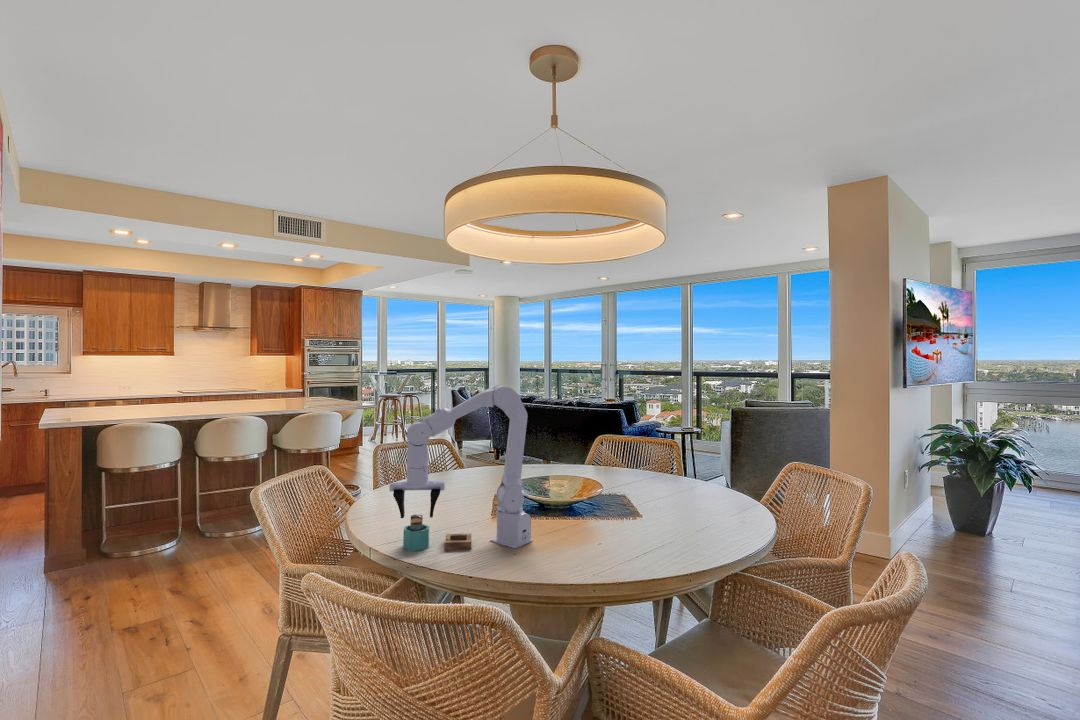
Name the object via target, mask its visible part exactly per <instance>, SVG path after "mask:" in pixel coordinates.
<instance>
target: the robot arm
mask: <svg viewBox="0 0 1080 720" xmlns="http://www.w3.org/2000/svg"><path fill="white" fill-rule="evenodd" d="M494 406H495V407H497V408H499V409H500V410H502V412H503V413H504V414H505V415H506V417H508V419H509V423H508V433H507V440H506V441H507V442H506V443H507V444H506V449H505V450H506V452H505V460H504V468H503V474H502V477H501V479H500V484H499V486H498V488H497V490H496V497H497V500H498V502H499V504H498V506H497V507H496V536H495V537H492V538H489V541H490V542H492V543H495V544H498V545H502V546H506V547H509V548H513V549H517V548H519V547H522V546H525V545H527V544H530V543H531V542H533V541H534V540H533V539H532V518H531V516H530V514H528V513H526V512H525V511H524V510H523V505H524V504H525V503H524V502H525V497H524V494H523V483H522V470H523V461H524V460H523V459H524V452H525V444H526V443H525V442H526V435H527V434H526V432H527V425H528V412H527V410H526V408H525V406H524V404H523V401H522V400H521V395H520V394H519V393H518V392H517V391H516V390H515V389H514V388H512V387H510V386H508V385H505V384H504V385H503V384H496V385H494V386H492V387H490V388H486V389H484V390H482V391H480V392H478V393H476V394H475V395H473V396H471V397H470V398H468V399H466V400H465V401H462V402H460V404H457V405H456V406H454V407H452V408H446V407H442V408H441V409H440V407H438V408H436V409H435V412H433V413H432V414H431V413H430V415H427V416H425V417H423V416H422V417H420V418H419V421H416V422H412V423H411V424H410V425H409V427H408V428H407V432H406V436H407V439H408V441H407V451H406V481H400V482H399V481H397V482H396V481H395V482H390V483H389V492H393V493H392V495H393V497H394V500H395V502H396V505H397V507H398V510H399V514H400V519H404V517H405V514H406V513H405V493H406V491H430V495H429V496H430V508H429V509H430V510H429V518H430V519H431V518H433V517H434V511H435V506H436V504H437V501H438V498H439V496H440V495H441V494H440V493H441V491H445V489H446V486H445V485H446V483H445V482H446V481H432V480H429V453H430V451H429V448H428V442H429V440H430V438H433V437H436V436H438V435H440V434H441V433H443V432H445V431H447V430H449V429H451V428H452V427H454V426H455V423H456V420H458V419H460V418H462V417H463V416H466V415H467V414H470V413H472V412H474V411H475V410H477V409H479V408H482V407H483V408H487V407H488V408H494Z"/></svg>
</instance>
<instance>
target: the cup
mask: <svg viewBox="0 0 1080 720" xmlns="http://www.w3.org/2000/svg"><path fill="white" fill-rule="evenodd" d="M410 528H411V524H409V525H406V526H404V528H403V536H402V537H403V538H402V539H403V540H402V541H403V542H402V543H403V544H402V546H403V548H402V549H403V550H407V551H414V552H416V551H423V550H425V549H428V548H429V547H430V546H429V545H430V525H428V524H424V523H423V530H421V531H410Z"/></svg>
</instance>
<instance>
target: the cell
mask: <svg viewBox="0 0 1080 720" xmlns="http://www.w3.org/2000/svg"><path fill="white" fill-rule="evenodd" d="M423 521H424V518H423V514H420V513H414V514H412V515H410V525H411V528H410V531H421V530H423V524H424V522H423Z"/></svg>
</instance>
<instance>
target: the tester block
mask: <svg viewBox="0 0 1080 720" xmlns="http://www.w3.org/2000/svg"><path fill="white" fill-rule="evenodd" d="M444 550H445V551H447V550H448V551H455V550H457V551H458V550H460V551H461V550H472V533H446V534H445V541H444Z"/></svg>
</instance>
